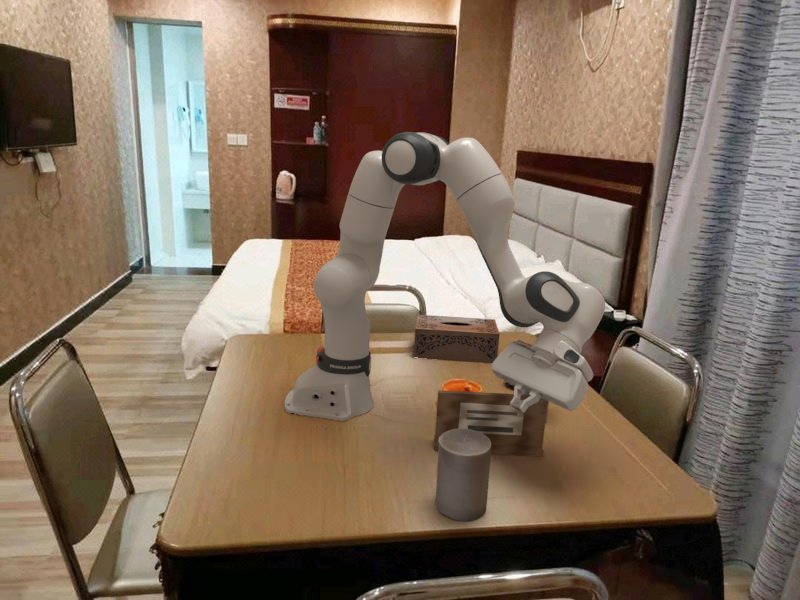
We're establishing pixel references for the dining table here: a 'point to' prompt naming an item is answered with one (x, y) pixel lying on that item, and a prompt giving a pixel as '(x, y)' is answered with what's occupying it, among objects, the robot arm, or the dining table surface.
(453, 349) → the tissue box cover
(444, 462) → the pillar candle
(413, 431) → the dining table surface
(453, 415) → the label placard
